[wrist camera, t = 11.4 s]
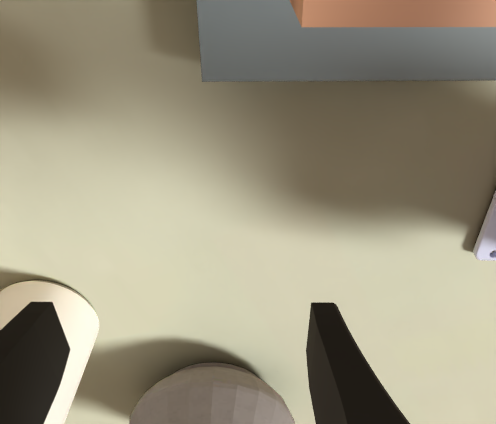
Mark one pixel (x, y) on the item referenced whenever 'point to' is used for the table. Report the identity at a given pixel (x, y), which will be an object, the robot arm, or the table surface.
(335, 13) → the block
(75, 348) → the can
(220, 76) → the base
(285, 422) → the coffee pot
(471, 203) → the table surface
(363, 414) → the robot arm
